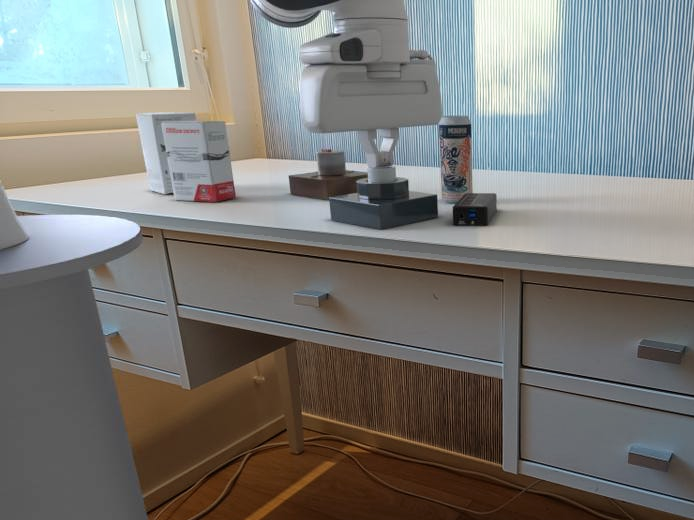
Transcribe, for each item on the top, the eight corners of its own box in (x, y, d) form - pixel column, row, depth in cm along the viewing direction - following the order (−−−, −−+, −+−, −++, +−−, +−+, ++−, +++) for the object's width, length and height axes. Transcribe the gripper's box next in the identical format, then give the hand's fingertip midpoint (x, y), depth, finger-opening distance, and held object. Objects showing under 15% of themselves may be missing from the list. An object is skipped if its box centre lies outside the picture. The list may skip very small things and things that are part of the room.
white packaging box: (164, 195, 113) (149, 113, 108) (149, 190, 118) (134, 112, 113) (208, 190, 118) (196, 112, 113) (192, 186, 123) (179, 111, 118)
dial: (351, 173, 111) (349, 149, 109) (328, 176, 108) (325, 151, 107) (336, 171, 114) (334, 147, 112) (313, 174, 111) (310, 149, 110)
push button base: (380, 229, 84) (377, 188, 82) (330, 220, 90) (327, 181, 88) (438, 217, 91) (437, 178, 89) (388, 209, 97) (385, 173, 95)
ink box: (237, 197, 109) (226, 119, 105) (215, 202, 105) (202, 121, 100) (196, 195, 112) (183, 119, 108) (173, 200, 108) (158, 121, 103)
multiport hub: (497, 210, 95) (496, 193, 94) (487, 225, 85) (487, 206, 84) (465, 209, 96) (465, 192, 95) (452, 225, 86) (451, 206, 85)
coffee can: (437, 203, 101) (434, 117, 96) (445, 198, 105) (442, 115, 101) (469, 203, 100) (467, 116, 96) (475, 198, 104) (474, 115, 100)
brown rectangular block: (327, 200, 106) (325, 179, 104) (290, 194, 112) (288, 174, 111) (377, 191, 112) (376, 172, 111) (339, 186, 119) (338, 168, 117)
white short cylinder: (381, 186, 86) (379, 169, 86) (362, 184, 89) (361, 167, 88) (402, 183, 89) (401, 166, 88) (383, 180, 91) (382, 164, 90)
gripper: (417, 51, 92) (422, 158, 97) (286, 47, 78) (299, 172, 83) (451, 49, 88) (454, 160, 93) (319, 44, 74) (331, 176, 79)
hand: (380, 166), depth 88 cm, fingers closed, pressing on white short cylinder
